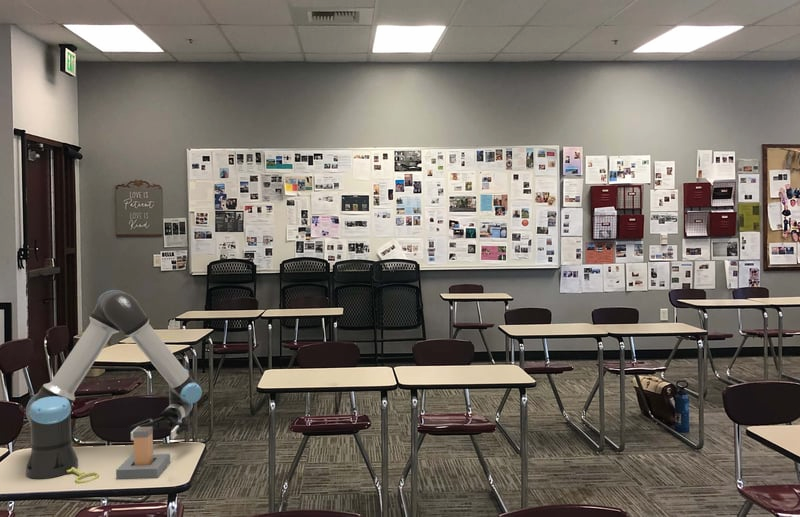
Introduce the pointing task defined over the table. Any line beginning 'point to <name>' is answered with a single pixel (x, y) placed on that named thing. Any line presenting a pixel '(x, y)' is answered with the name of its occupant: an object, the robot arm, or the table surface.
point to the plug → (143, 446)
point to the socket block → (143, 468)
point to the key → (83, 475)
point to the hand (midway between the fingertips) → (152, 436)
